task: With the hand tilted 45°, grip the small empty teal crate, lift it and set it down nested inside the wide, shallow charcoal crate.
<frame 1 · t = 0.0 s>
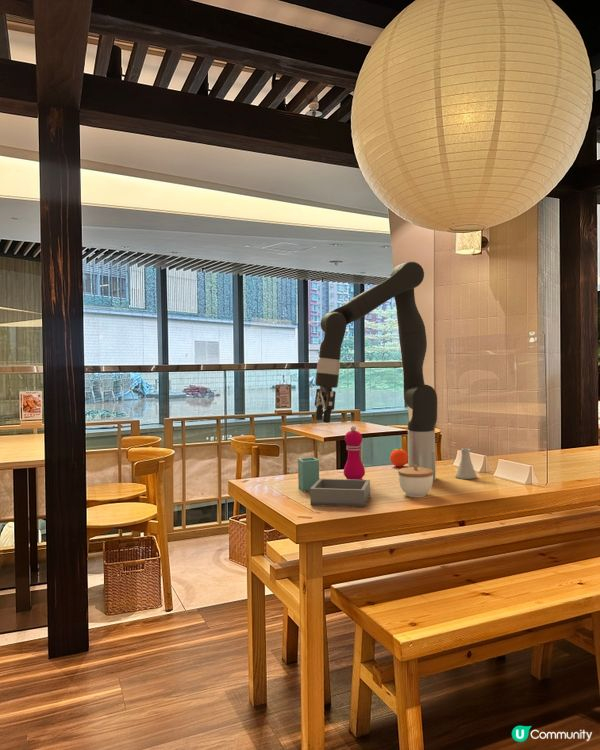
hand: (322, 421, 198), 22 cm above the table, tool pointing down, fingers open, 8 cm apart
lidded jar: (416, 495, 186), on the table
clementine: (397, 467, 232), on the table
charcoal crate: (341, 500, 182), on the table
pepper mill: (354, 485, 202), on the table
teal crate: (308, 489, 198), on the table
flask: (466, 478, 210), on the table
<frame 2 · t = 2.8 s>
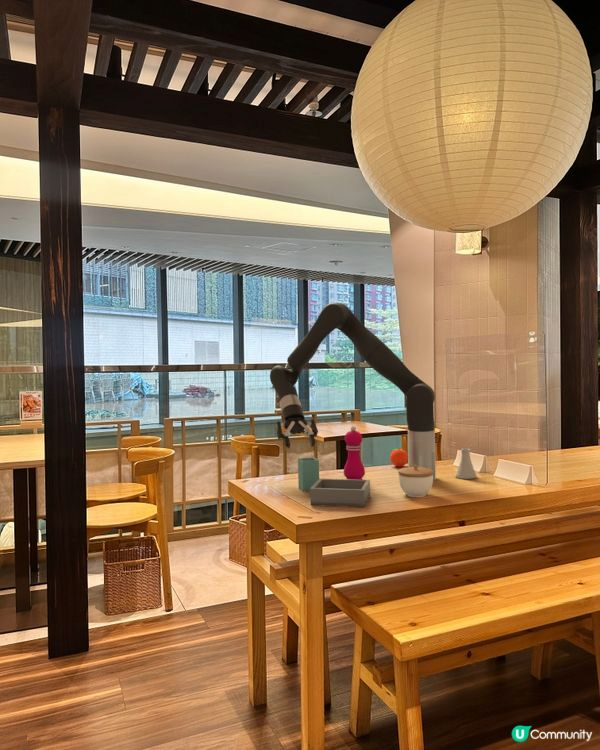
hand: (300, 446, 206), 13 cm above the table, tool tilted 45°, fingers open, 8 cm apart
nothing on the table moved.
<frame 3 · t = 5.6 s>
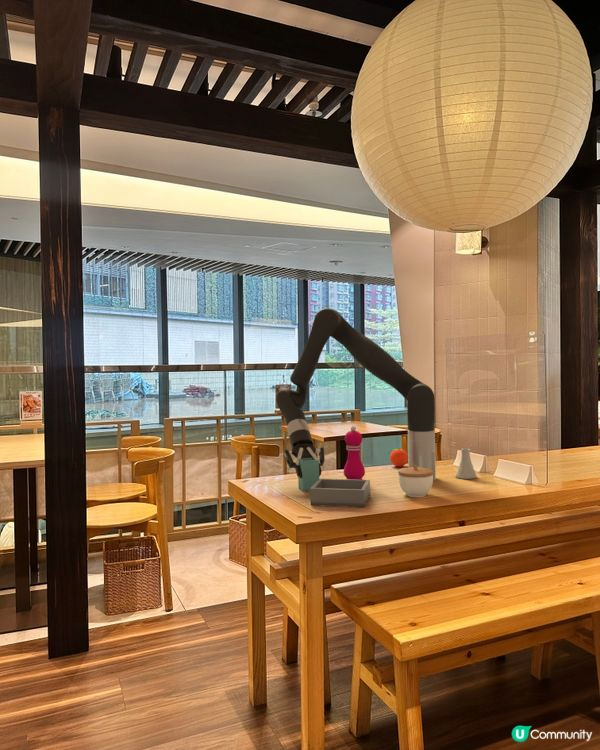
hand: (310, 475, 196), 5 cm above the table, tool tilted 45°, fingers closed on teal crate, 5 cm apart
teal crate: (308, 489, 198), on the table, touching gripper
everything else where it was.
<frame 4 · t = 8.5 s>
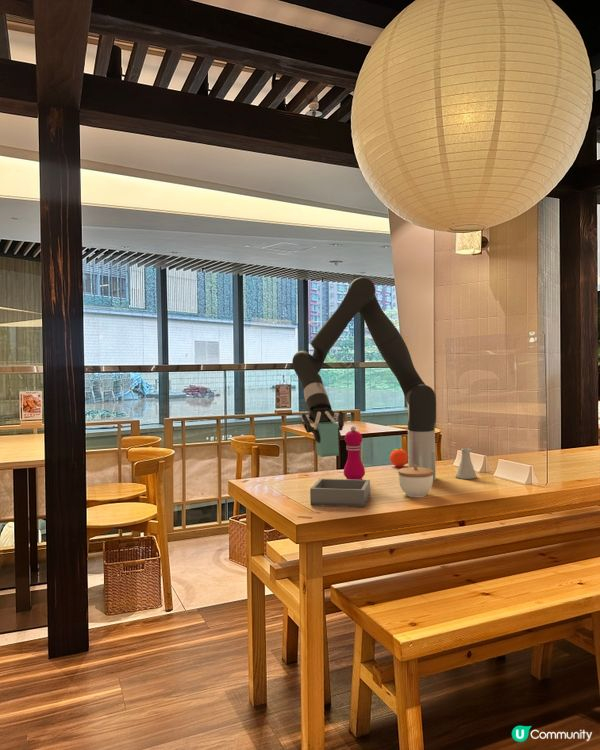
hand: (328, 440, 186), 18 cm above the table, tool tilted 45°, fingers closed on teal crate, 5 cm apart
teal crate: (327, 454, 188), point 13 cm above the table, touching gripper
everything else where it was.
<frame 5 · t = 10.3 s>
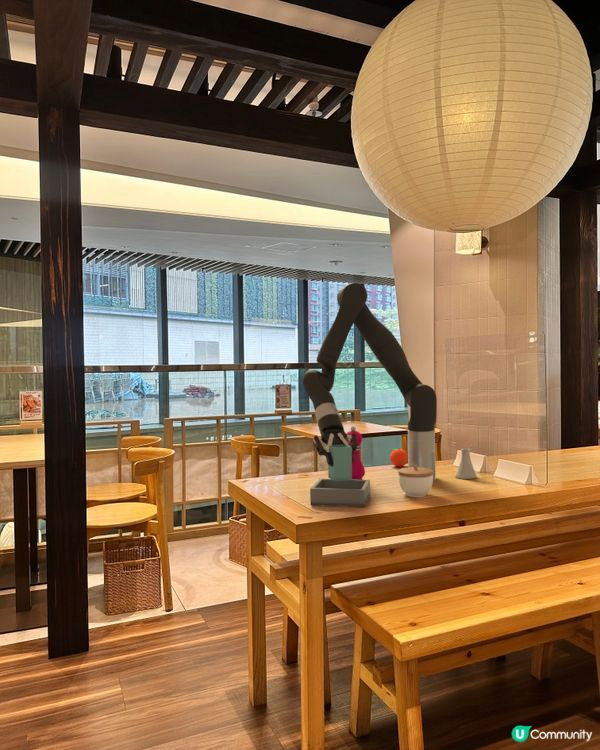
hand: (341, 464, 180), 11 cm above the table, tool tilted 45°, fingers closed on teal crate, 5 cm apart
teal crate: (340, 478, 182), point 7 cm above the table, touching gripper
everything else where it was.
when the fingers open (7 cm above the table, at t = 11.6 s): teal crate drops 1 cm, resting on charcoal crate.
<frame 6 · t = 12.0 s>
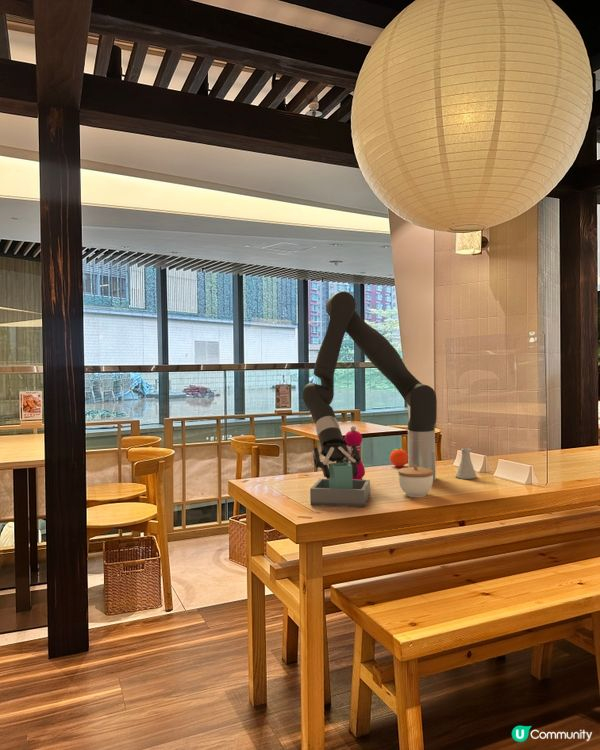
hand: (342, 476, 180), 8 cm above the table, tool tilted 45°, fingers open, 8 cm apart
teal crate: (340, 497, 182), point 1 cm above the table, touching charcoal crate
everything else where it was.
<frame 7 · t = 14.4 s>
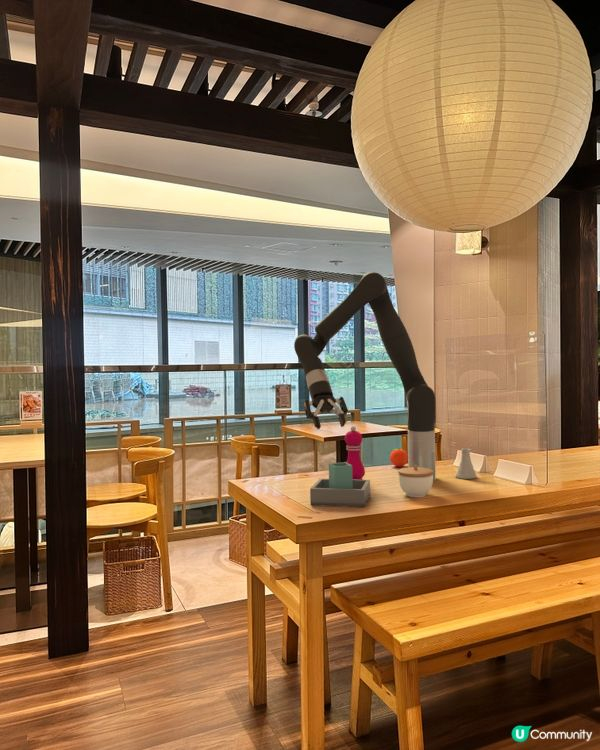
hand: (331, 426, 197), 21 cm above the table, tool tilted 35°, fingers open, 8 cm apart
nothing on the table moved.
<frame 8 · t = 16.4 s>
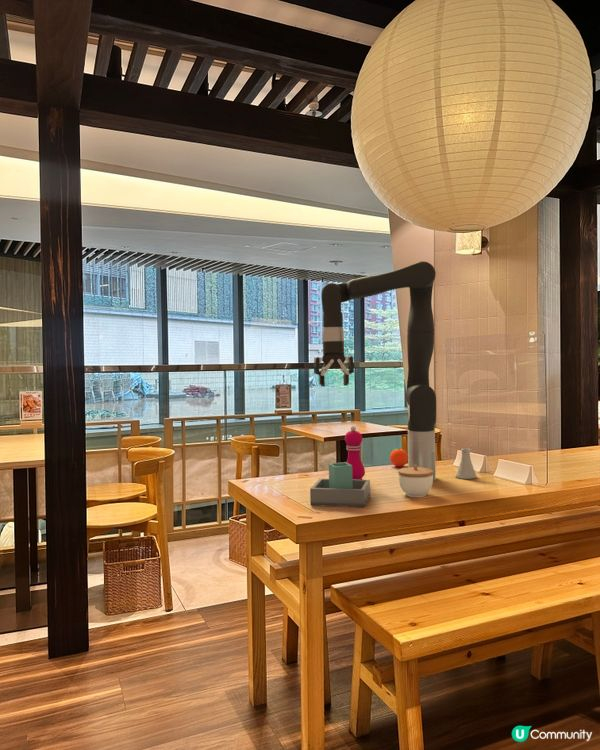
hand: (334, 385, 212), 33 cm above the table, tool pointing down, fingers open, 8 cm apart
nothing on the table moved.
at the end: teal crate inside the target area on the charcoal crate (0.0 cm from its centre), point 1.0 cm above the charcoal crate's base; teal crate tilted 0°; the gripper is holding nothing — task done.
